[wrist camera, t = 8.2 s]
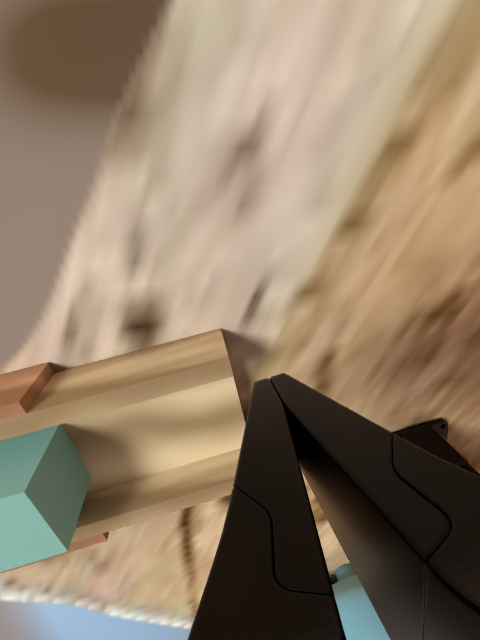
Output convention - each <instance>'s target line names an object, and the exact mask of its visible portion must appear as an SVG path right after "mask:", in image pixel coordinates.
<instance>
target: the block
mask: <svg viewBox="0 0 480 640" xmlns="http://www.w3.org/2000/svg"><path fill="white" fill-rule="evenodd" d="M90 479H91V474H90V472H89V471H88V469H87V467H86V465H85V464H84V462H83V460H82V459H81V457H80V455H79V454H78V452H77V450H76V448H75V447H74V445H73V443H72V442H71V440H70V438H69V436H68V435H67V433H66V431H65V430H64V428H63V426H62V424H59V425H56V426H52V427H48V428H45V429H41V430H38V431H34V432H30V433H27V434H23V435H20V436H16V437H12V438H9V439H5V440H2V441H0V572H3V571H6V570H10V569H13V568H16V567H20V566H23V565H26V564H29V563H33V562H36V561H39V560H42V559H46V558H49V557H52V556H55V555H59V554H62V553H65V552H68V550H69V547H70V544H71V541H72V537H73V534H74V531H75V528H76V524H77V521H78V518H79V515H80V512H81V508H82V505H83V502H84V499H85V495H86V492H87V489H88V486H89V483H90Z"/></svg>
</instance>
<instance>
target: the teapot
mask: <svg viewBox="0 0 480 640" xmlns="http://www.w3.org/2000/svg"><path fill="white" fill-rule="evenodd" d="M335 574H336V577H337V580H338V582H337V583H335V584H333V585H332V588H333V592H334V596H335V600H336V603H337V607H338V610H339V614H340V618H341V621H342V625H343V629H344V632H345V636H346V640H390V638H389V636H388V634H387V632H386V630H385V628H384V626H383V624H382V623H381V621H380V619H379V617H378V615H377V613H376V611H375V609H374V607H373V605H372V603H371V602H370V600H369V598H368V596H367V594H366V592H365V590H364V588H363V586H362V584H361V582H360V581H359V579H358V577H357V575H355V571H354V569H353V567H352V565H351V564H344V565H341V566H340V567H338V568H337V569H336V571H335Z"/></svg>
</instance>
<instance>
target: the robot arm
mask: <svg viewBox="0 0 480 640" xmlns="http://www.w3.org/2000/svg"><path fill="white" fill-rule="evenodd" d="M447 432H448V423H447V422H446V421H445V420H444V419H438V420H435V421H432V422H428V423H425V424H422V425H418V426H415V427H412V428H409V429H405V430H402V431H399V432H395V433H391V432H390V431H388V430H386V429H384V428H383V427H381V426H379V425H377V424H375V423H374V422H372V421H370V420H368V419H366V418H365V417H363V416H361V415H359V414H357V413H356V412H354V411H352V410H350V409H348V408H347V407H345V406H343V405H341V404H339V403H337V402H336V401H334V400H332V399H330V398H328V397H327V396H325V395H323V394H321V393H319V392H318V391H316V390H314V389H312V388H310V387H309V386H307V385H305V384H303V383H301V382H300V381H298V380H296V379H294V378H292V377H291V376H289V375H287V374H285V373H282V374H279V375H276V376H272V377H271V378H270V379H268V378H266V379H263V380H260V381H256V382H255V383H254V385H253V390H252V395H251V400H250V405H249V409H248V414H247V419H246V424H245V429H244V434H243V439H242V444H241V449H240V454H239V459H238V464H237V469H236V474H235V479H234V483H233V489H232V492H231V497H230V502H229V507H228V511H227V515H226V520H225V524H224V528H223V532H222V535H221V539H220V542H219V545H218V549H217V552H216V555H215V558H214V562H213V565H212V568H211V571H210V574H209V577H208V580H207V583H206V586H205V589H204V592H203V595H202V598H201V601H200V604H199V607H198V610H197V613H196V616H195V619H194V622H193V625H192V628H191V631H190V634H189V638H188V640H346V636H345V632H344V629H343V625H342V621H341V618H340V614H339V610H338V607H337V603H336V600H335V596H334V592H333V588H332V584H331V580H330V577H329V573H328V569H327V565H326V561H325V558H324V554H323V550H322V546H321V543H320V539H319V535H318V531H317V528H316V524H315V520H314V516H313V513H312V509H311V505H310V501H309V498H308V494H307V490H306V486H305V483H304V479H303V475H302V472H303V474H304V476H305V478H306V480H307V481H308V483H309V485H310V487H311V489H312V491H313V493H314V495H315V497H316V499H317V501H318V502H319V504H320V506H321V508H322V510H323V512H324V514H325V516H326V518H327V520H328V521H329V523H330V525H331V527H332V529H333V531H334V533H335V535H336V537H337V539H338V541H339V542H340V544H341V546H342V548H343V550H344V552H345V554H346V556H347V558H348V560H349V562H350V563H351V565H352V567H353V569H354V571H355V573H356V575H357V577H358V579H359V581H360V582H361V584H362V586H363V588H364V590H365V592H366V594H367V596H368V598H369V600H370V602H371V603H372V605H373V607H374V609H375V611H376V613H377V615H378V617H379V619H380V621H381V623H382V624H383V626H384V628H385V630H386V632H387V634H388V636H389V638H390V640H480V474H479V473H478V472H477V471H476V470H475V469H474V468H473V467H472V466H471V465H470V464H469V463H468V461H467V459H466V458H465V457H463V456H462V455H461V454H460V453H459V452H458V451H457V450H456V449H455V448H454V447H453V446H452V445H451V444H450V443H449V442H448V441H447ZM301 470H302V471H301Z"/></svg>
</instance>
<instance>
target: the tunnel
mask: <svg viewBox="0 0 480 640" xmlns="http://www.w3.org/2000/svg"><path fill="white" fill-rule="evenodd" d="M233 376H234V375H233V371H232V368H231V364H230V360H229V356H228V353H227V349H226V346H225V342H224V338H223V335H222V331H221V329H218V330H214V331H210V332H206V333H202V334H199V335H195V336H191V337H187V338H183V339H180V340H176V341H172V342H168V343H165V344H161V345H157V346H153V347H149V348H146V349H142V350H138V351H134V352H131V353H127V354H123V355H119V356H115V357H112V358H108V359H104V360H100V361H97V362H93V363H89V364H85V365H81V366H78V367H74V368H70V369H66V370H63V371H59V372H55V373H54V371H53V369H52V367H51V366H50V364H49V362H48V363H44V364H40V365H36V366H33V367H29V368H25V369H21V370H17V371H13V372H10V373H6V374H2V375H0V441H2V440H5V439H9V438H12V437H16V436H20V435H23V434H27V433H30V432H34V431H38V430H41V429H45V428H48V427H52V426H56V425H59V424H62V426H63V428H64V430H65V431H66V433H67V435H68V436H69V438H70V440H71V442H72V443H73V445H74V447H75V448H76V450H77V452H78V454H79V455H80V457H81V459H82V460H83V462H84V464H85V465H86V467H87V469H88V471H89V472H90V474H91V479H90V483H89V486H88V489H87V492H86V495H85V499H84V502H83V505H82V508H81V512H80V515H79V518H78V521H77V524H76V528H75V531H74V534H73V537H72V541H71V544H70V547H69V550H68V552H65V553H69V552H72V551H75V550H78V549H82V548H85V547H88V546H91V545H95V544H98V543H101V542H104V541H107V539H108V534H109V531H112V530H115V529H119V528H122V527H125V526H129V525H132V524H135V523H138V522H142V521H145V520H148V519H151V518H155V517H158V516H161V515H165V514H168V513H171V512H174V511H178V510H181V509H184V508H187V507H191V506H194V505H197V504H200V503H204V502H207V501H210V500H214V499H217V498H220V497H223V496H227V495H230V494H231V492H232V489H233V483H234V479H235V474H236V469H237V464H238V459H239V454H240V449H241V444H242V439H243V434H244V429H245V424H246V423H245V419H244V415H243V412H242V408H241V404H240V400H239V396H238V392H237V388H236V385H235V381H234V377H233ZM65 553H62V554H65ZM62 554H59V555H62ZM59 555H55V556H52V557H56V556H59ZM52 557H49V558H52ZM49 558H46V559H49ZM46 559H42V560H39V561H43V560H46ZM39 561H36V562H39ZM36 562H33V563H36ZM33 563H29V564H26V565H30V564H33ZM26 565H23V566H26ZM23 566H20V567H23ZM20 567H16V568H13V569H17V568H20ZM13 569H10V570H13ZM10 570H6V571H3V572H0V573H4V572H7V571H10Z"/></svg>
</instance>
